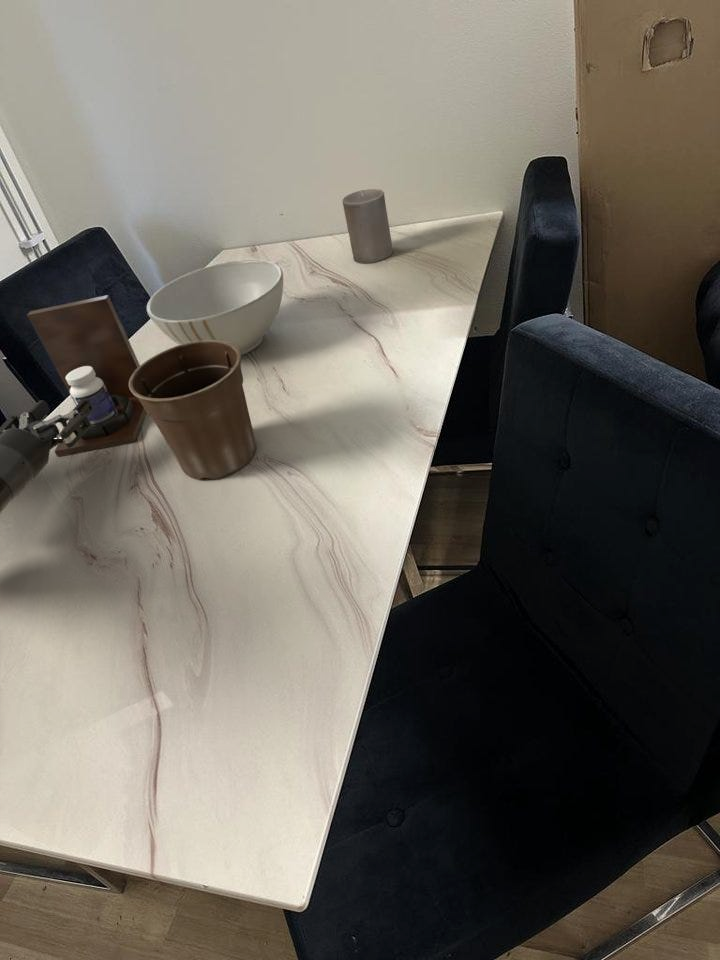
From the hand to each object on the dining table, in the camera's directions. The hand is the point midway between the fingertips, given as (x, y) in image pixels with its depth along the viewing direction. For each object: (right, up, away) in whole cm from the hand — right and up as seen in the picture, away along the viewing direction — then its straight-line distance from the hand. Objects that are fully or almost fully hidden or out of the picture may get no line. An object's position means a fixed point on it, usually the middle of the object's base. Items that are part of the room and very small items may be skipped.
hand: (67, 403), depth 109 cm
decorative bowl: (+22, +15, +26) cm, 37 cm away
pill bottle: (+3, -2, +9) cm, 9 cm away
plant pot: (+26, -9, -5) cm, 28 cm away
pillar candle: (+51, +41, +49) cm, 82 cm away
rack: (+3, -3, +10) cm, 10 cm away
